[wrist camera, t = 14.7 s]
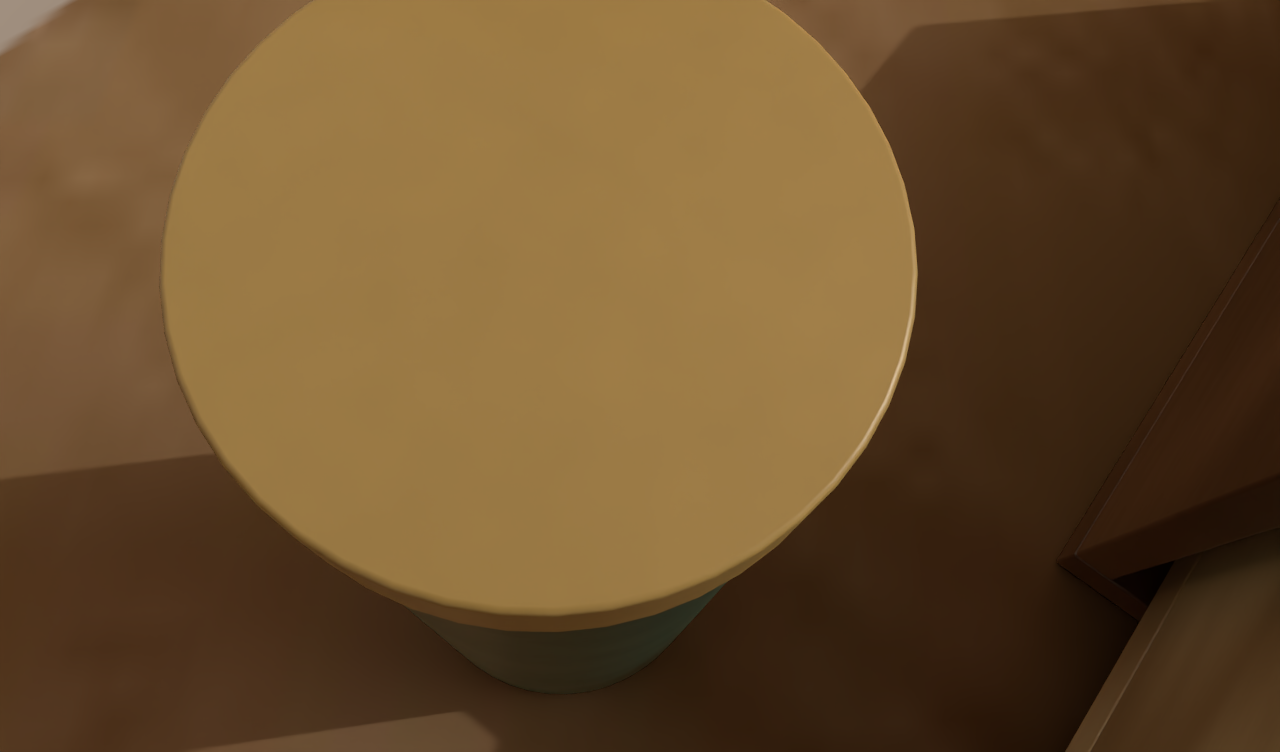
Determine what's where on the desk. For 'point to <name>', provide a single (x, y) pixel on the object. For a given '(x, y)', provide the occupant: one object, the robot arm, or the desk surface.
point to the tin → (539, 306)
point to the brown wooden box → (1196, 447)
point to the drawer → (1199, 660)
